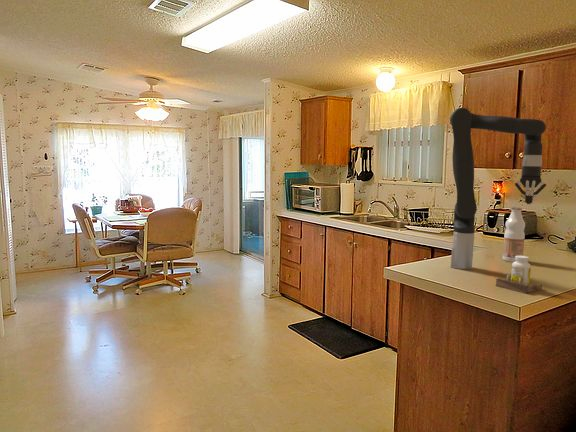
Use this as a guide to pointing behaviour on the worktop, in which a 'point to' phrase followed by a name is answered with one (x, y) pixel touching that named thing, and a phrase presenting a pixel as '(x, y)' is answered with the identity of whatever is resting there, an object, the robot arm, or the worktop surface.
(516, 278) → the supplement bottle
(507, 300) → the worktop surface
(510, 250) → the fruit juice
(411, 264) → the worktop surface
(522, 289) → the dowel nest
